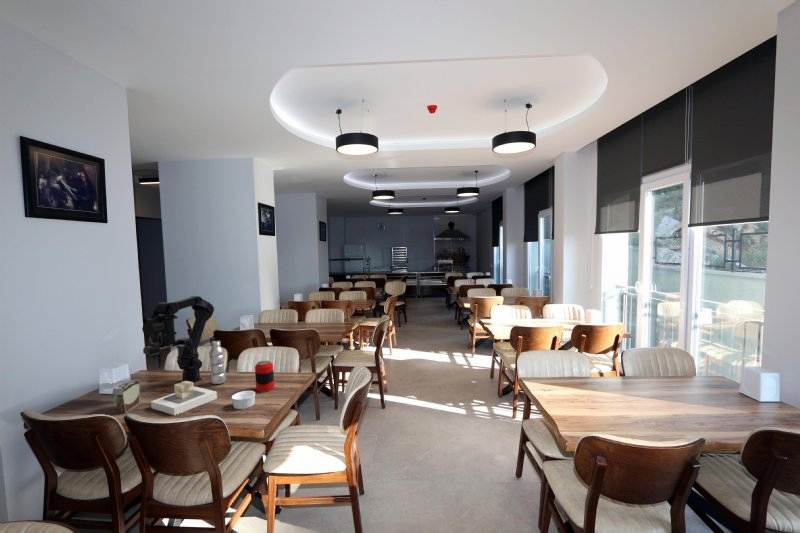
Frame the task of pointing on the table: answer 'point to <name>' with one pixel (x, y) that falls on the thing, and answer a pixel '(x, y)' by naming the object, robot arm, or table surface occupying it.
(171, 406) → the base
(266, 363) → the soda can
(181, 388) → the birch block
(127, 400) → the food container
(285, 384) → the table surface
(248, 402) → the ramekin
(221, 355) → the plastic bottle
